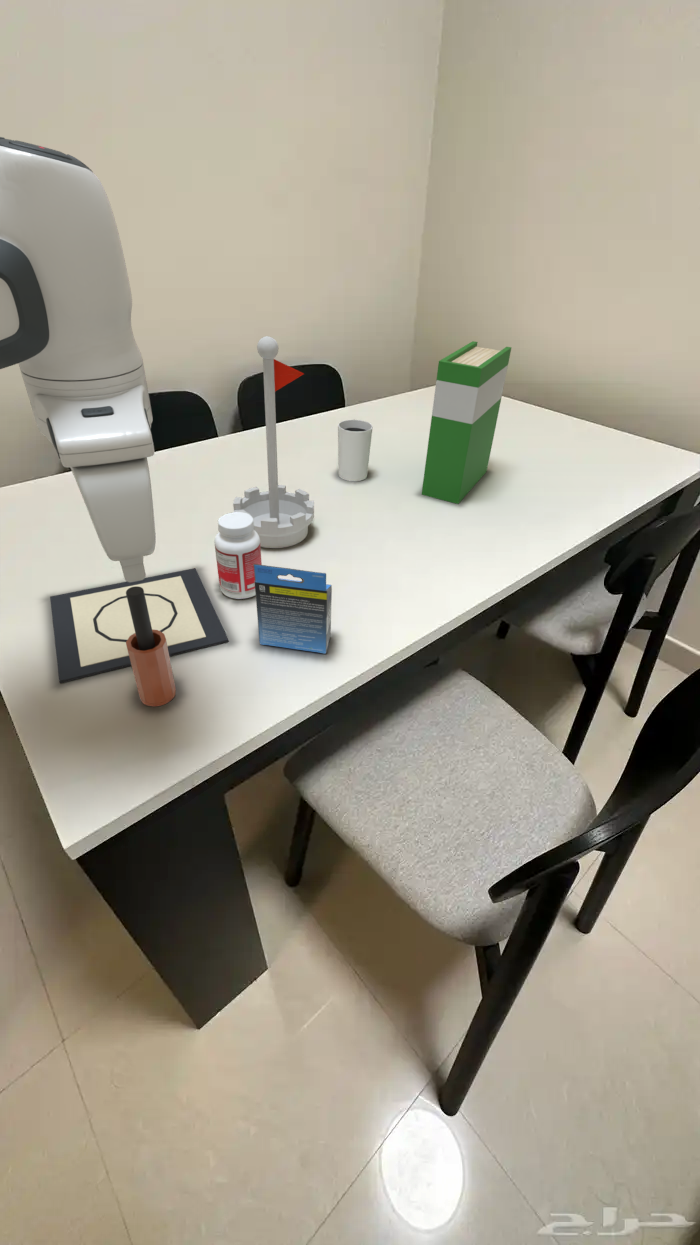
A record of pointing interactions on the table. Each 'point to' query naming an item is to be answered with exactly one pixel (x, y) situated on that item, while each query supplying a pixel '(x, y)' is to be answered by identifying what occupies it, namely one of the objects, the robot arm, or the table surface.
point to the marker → (140, 618)
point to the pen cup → (152, 670)
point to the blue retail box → (293, 608)
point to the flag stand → (276, 469)
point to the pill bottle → (237, 554)
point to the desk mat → (130, 622)
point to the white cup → (354, 449)
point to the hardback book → (463, 420)
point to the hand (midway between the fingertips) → (126, 551)
